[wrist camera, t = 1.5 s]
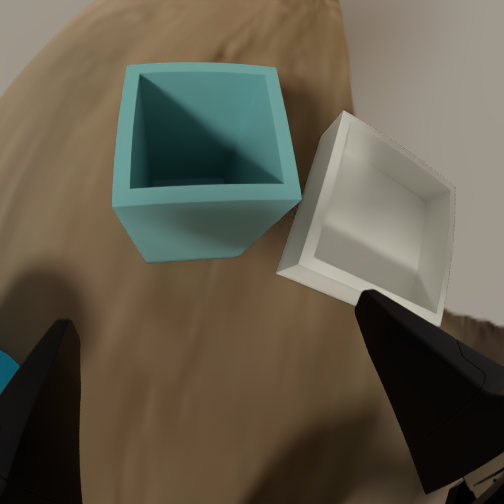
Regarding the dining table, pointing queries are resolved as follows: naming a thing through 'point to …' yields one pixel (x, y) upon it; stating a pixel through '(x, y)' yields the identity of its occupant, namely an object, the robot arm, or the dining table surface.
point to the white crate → (372, 222)
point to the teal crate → (202, 159)
